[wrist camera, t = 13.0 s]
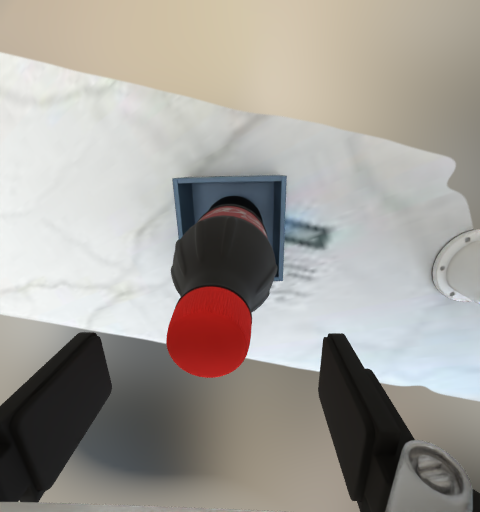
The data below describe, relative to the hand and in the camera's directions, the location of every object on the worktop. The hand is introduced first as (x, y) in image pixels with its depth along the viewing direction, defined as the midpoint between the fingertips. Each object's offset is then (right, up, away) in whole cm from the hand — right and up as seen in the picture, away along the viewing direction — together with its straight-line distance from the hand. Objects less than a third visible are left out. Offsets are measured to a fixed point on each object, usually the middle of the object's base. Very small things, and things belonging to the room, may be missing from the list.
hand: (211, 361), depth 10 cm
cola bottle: (0, +10, +29) cm, 31 cm away
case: (0, +10, +30) cm, 31 cm away
